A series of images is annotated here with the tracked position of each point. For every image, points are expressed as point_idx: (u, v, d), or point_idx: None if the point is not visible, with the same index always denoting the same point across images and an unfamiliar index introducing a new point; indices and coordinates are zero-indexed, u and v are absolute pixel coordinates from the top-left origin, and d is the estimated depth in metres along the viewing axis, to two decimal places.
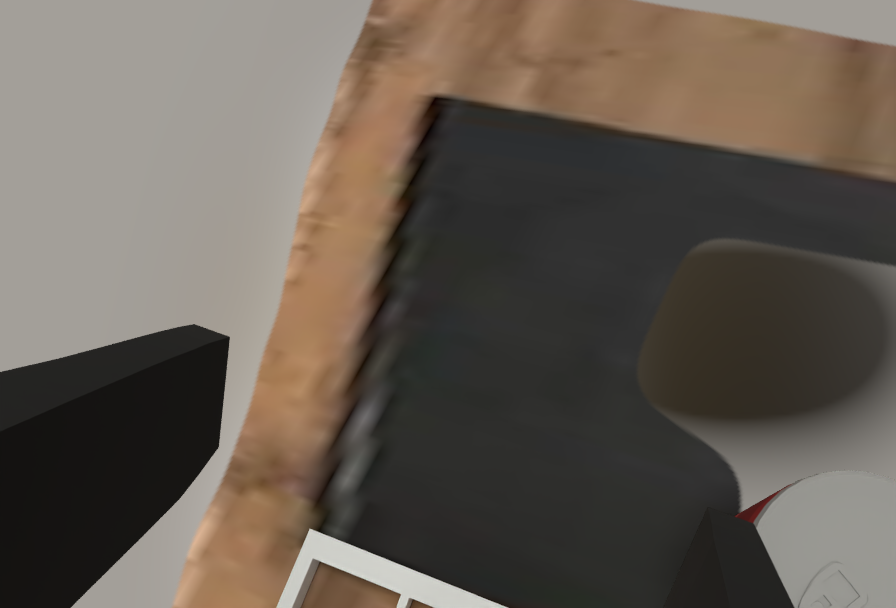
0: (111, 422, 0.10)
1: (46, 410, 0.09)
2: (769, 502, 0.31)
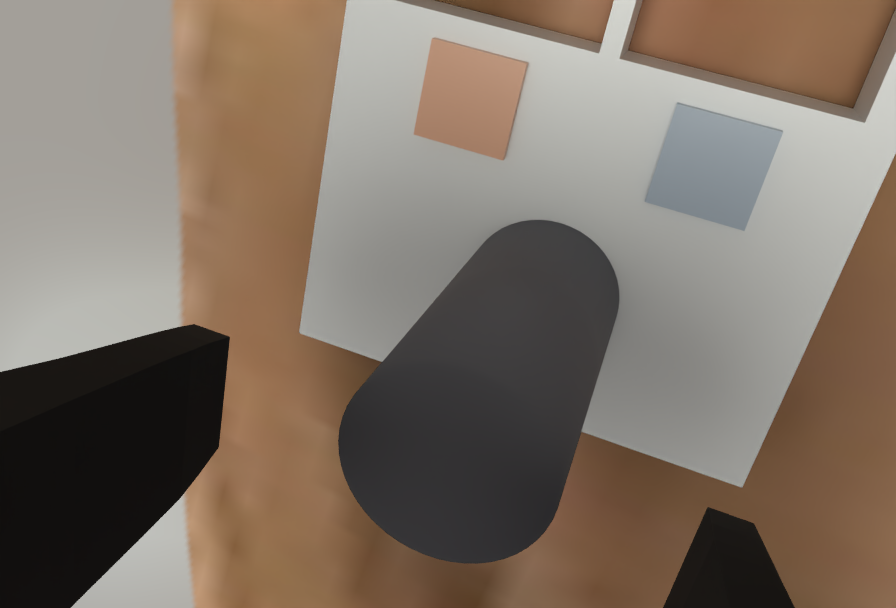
0: (111, 422, 0.10)
1: (46, 410, 0.09)
2: None
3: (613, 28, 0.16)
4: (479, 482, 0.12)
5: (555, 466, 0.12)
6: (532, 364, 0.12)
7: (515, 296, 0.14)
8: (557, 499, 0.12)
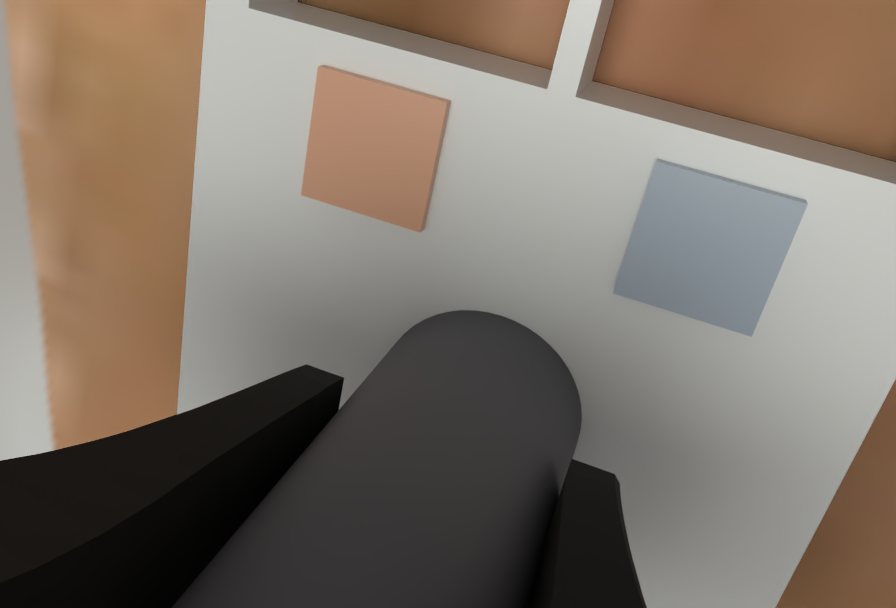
0: (247, 474, 0.10)
1: (196, 469, 0.09)
2: None
3: (566, 55, 0.11)
4: None
5: None
6: None
7: (408, 464, 0.09)
8: None
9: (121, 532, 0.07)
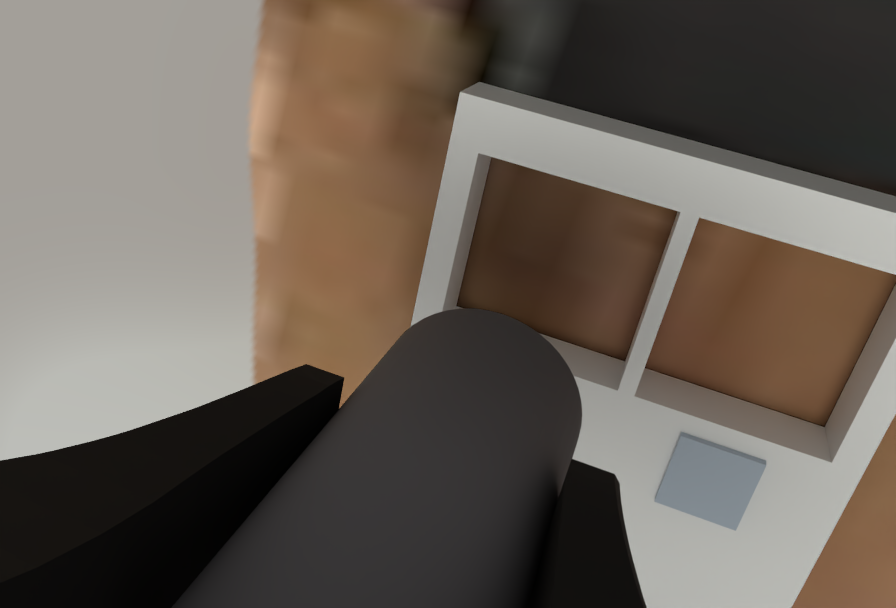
0: (247, 474, 0.10)
1: (196, 469, 0.09)
2: None
3: (629, 375, 0.19)
4: None
5: None
6: (413, 607, 0.08)
7: (408, 461, 0.09)
8: None
9: (121, 532, 0.07)
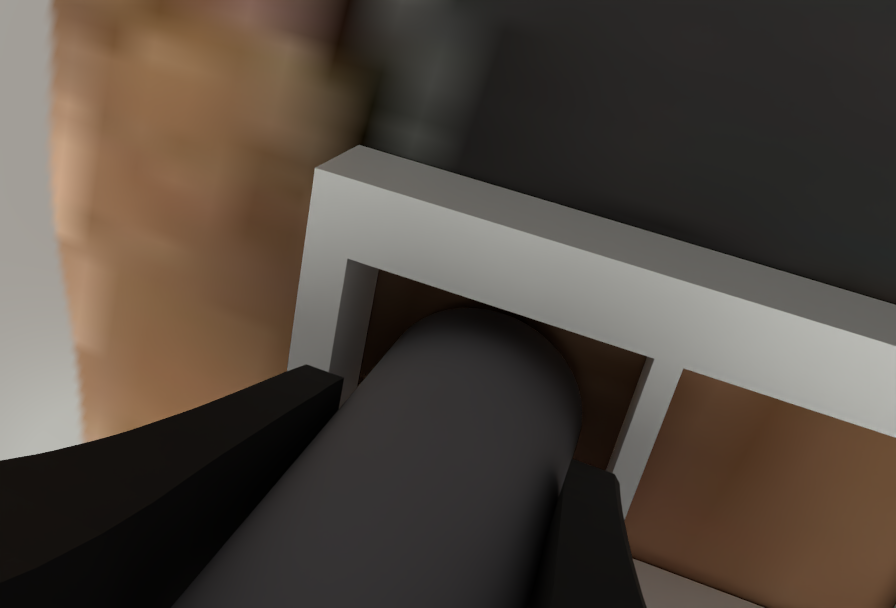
0: (246, 474, 0.10)
1: (196, 469, 0.09)
2: None
3: None
4: None
5: None
6: (415, 605, 0.08)
7: (408, 460, 0.09)
8: None
9: (121, 532, 0.07)
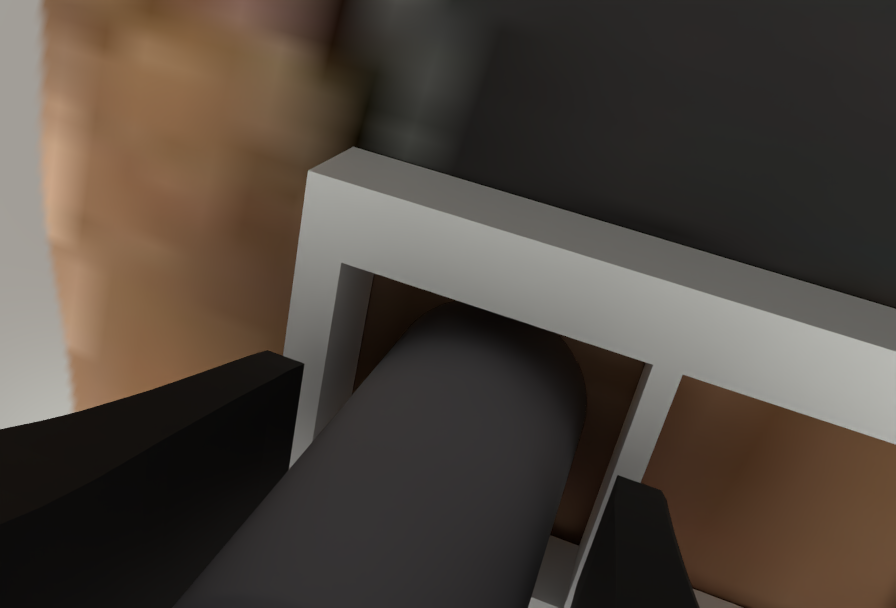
0: (199, 456, 0.10)
1: (144, 448, 0.09)
2: None
3: None
4: None
5: None
6: (430, 578, 0.08)
7: (421, 442, 0.10)
8: None
9: (61, 507, 0.07)
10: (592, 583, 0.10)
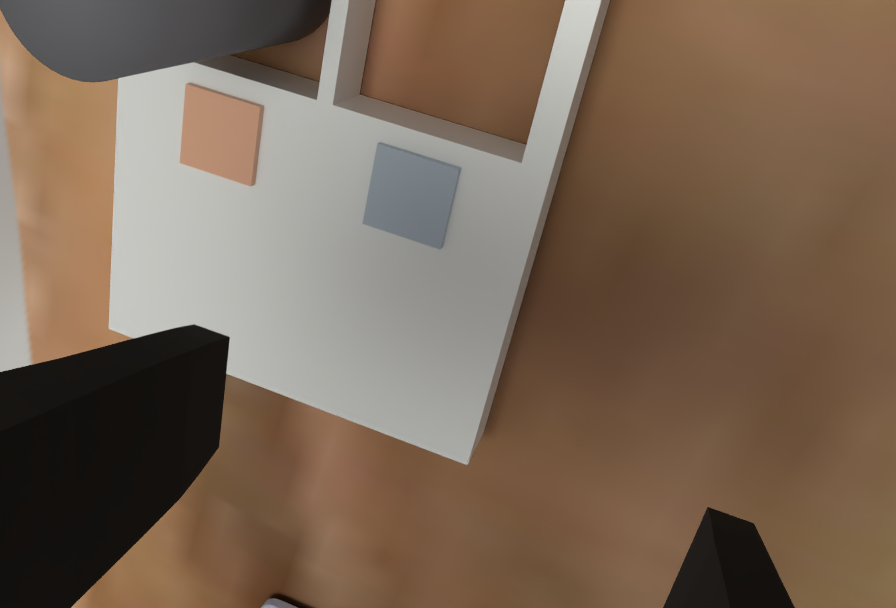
0: (111, 422, 0.10)
1: (46, 410, 0.09)
2: None
3: (325, 80, 0.19)
4: None
5: None
6: None
7: None
8: None
9: None
10: None
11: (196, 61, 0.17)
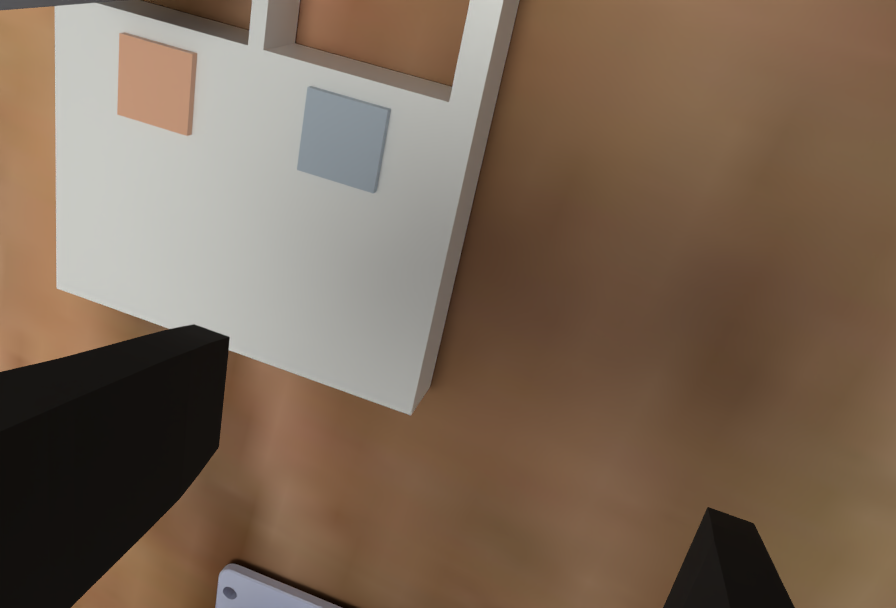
0: (111, 422, 0.10)
1: (46, 410, 0.09)
2: None
3: (255, 25, 0.19)
4: None
5: None
6: None
7: None
8: None
9: None
10: None
11: None
